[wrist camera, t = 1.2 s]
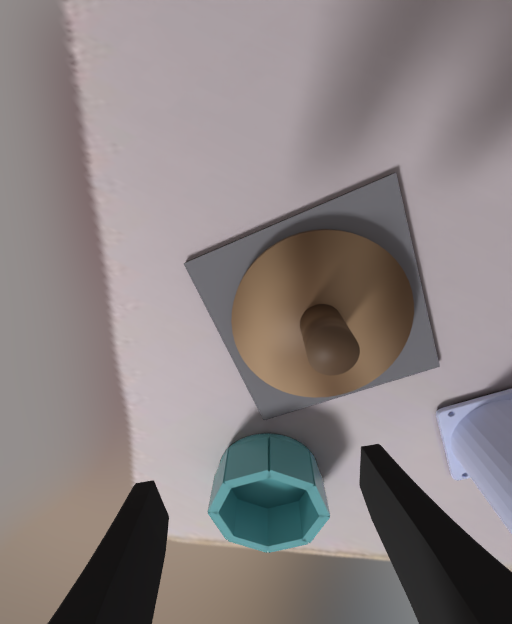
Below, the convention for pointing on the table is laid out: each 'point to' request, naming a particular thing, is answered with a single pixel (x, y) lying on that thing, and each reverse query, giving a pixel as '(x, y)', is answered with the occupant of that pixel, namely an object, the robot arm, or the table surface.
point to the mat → (330, 215)
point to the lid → (322, 313)
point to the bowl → (268, 494)
